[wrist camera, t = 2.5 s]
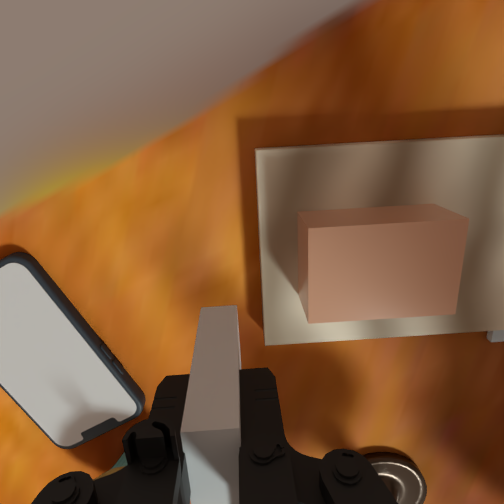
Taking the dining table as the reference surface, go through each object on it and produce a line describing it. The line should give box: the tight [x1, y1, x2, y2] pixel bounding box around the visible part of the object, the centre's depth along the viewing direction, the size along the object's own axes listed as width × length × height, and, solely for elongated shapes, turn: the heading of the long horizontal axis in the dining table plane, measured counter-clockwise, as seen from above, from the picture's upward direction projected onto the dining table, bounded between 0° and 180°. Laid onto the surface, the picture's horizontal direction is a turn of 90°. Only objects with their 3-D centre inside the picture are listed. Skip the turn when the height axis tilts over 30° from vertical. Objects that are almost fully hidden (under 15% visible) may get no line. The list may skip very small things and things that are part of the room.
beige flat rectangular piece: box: [255, 134, 504, 346], centre depth 26 cm, size 18×14×2 cm
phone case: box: [0, 252, 145, 449], centre depth 29 cm, size 9×2×16 cm
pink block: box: [297, 204, 469, 324], centre depth 24 cm, size 9×6×4 cm, turn 93°
